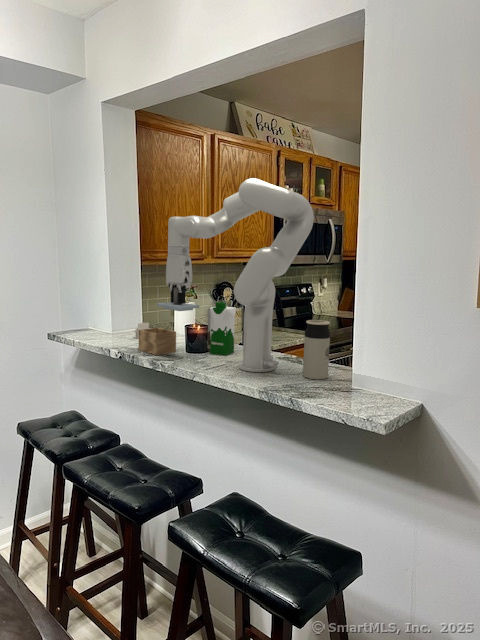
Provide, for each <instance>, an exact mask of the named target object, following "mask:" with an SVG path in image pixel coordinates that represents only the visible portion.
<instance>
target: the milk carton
mask: <svg viewBox="0 0 480 640" xmlns="http://www.w3.org/2000/svg"><path fill="white" fill-rule="evenodd" d="M209 308H210V316H211V324H210V348H209V354H210V355H217V356H218V355H219V356H225V357H227V356H228V355H230V354H234V353H235V322H236V321H235V318H236V310H237V307H235V306H234V307H233V306H227V303H226V302H224V301H216V302H215V306H213V307H209Z"/></svg>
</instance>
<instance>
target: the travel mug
mask: <svg viewBox="0 0 480 640" xmlns="http://www.w3.org/2000/svg"><path fill="white" fill-rule="evenodd" d="M305 323H306V326H307V327H306V329H305V331H304V342H303V344H304V346H303V363H302V364H303V366H302V376H303V377H305V379H309V380H314V381H315V380H316V381H317V380H325V379H327V378H329V363H330V361H329V360H330V345H331V343H330V342H331V331H330V329H329V326H330V324H331V322H330V321H329V320H328V321H327V320H321V319H308V320H306V322H305Z"/></svg>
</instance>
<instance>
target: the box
mask: <svg viewBox="0 0 480 640" xmlns="http://www.w3.org/2000/svg"><path fill="white" fill-rule="evenodd" d="M140 350H141V352H144V351H145V353H147V354H151V353H152V355H156V356H161V355H165V354H166V353H167V354H172V352H173V353H177V331H174V330H170V329H167V328H161V327H154V328H153V327H152V328H149V329H143V330H139V339H138V351H140ZM160 354H161V355H160Z"/></svg>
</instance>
